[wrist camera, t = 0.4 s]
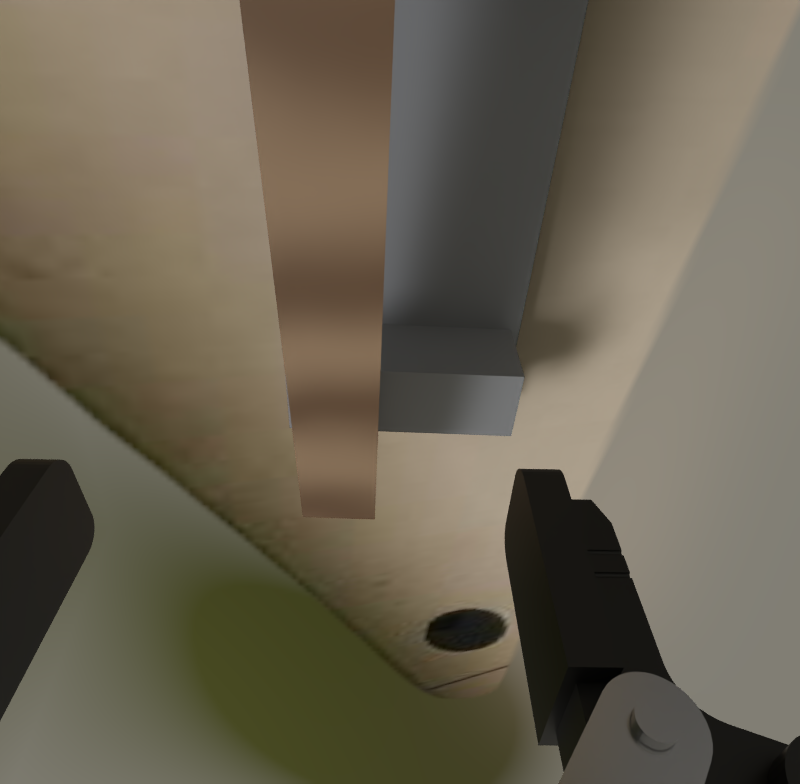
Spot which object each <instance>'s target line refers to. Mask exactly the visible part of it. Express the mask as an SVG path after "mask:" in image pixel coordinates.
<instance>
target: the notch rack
mask: <svg viewBox="0 0 800 784" xmlns="http://www.w3.org/2000/svg"><path fill="white" fill-rule="evenodd" d="M587 5H588V0H395V15H394V40H393V65H392V91H391V116H390V142H389V167H388V192H387V218H386V243H385V269H384V294H383V319H382V345H381V370H380V395H379V421H378V431H389V432H415V433H442V434H469V435H496V436H511V434H512V429H513V425H514V421H515V416H516V412H517V408H518V403H519V399H520V394H521V390H522V386H523V381H524V374H523V370H522V367H521V363H520V360H519V357H518V353H517V350H516V344H517V340H518V335H519V330H520V325H521V321H522V316H523V311H524V306H525V301H526V297H527V292H528V287H529V282H530V278H531V273H532V268H533V263H534V258H535V254H536V249H537V244H538V239H539V234H540V230H541V225H542V220H543V215H544V211H545V206H546V201H547V196H548V191H549V187H550V182H551V177H552V172H553V168H554V163H555V158H556V153H557V148H558V144H559V139H560V134H561V129H562V125H563V120H564V115H565V110H566V105H567V101H568V96H569V91H570V86H571V82H572V77H573V72H574V67H575V62H576V58H577V53H578V48H579V43H580V38H581V34H582V29H583V24H584V19H585V15H586V10H587ZM285 376H286V375H285ZM286 388H287V383H286ZM287 400H288V412H289V424H290V428H292V424H291V416H290V407H289V399H288V391H287Z"/></svg>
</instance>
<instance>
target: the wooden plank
mask: <svg viewBox="0 0 800 784" xmlns="http://www.w3.org/2000/svg"><path fill="white" fill-rule="evenodd" d="M240 7H241V15H242V24H243V32H244V40H245V48H246V56H247V64H248V73H249V81H250V89H251V97H252V105H253V113H254V122H255V130H256V138H257V146H258V154H259V162H260V171H261V179H262V187H263V195H264V203H265V211H266V220H267V228H268V236H269V244H270V252H271V260H272V269H273V277H274V285H275V293H276V301H277V309H278V318H279V326H280V334H281V342H282V350H283V358H284V367H285V375H286V383H287V391H288V399H289V407H290V416H291V424H292V432H293V440H294V448H295V456H296V465H297V473H298V481H299V489H300V497H301V505H302V514H303V517H318V518H350V519H375V496H376V471H377V446H378V421H379V395H380V370H381V345H382V319H383V294H384V269H385V243H386V218H387V192H388V167H389V142H390V116H391V91H392V65H393V40H394V15H395V0H240Z"/></svg>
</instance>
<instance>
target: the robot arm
mask: <svg viewBox="0 0 800 784" xmlns="http://www.w3.org/2000/svg"><path fill="white" fill-rule="evenodd" d="M93 537H94V519H93V516H92V514H91V511H90V509H89V507H88V504H87V502H86V500H85V498H84V495H83V493H82V491H81V489H80V486H79V484H78V482H77V479H76V477H75V475H74V473H73V470H72V468H71V466H70V465H69V464H68V463H67V462H66V461H64V460H43V459H41V460H40V459H18V460H15V461H13V462H12V463H10V464H9V465H8V467H7V468H6V469H5V470H4V471H3V473H2V474H1V475H0V720H1V718H2V716H3V714H4V712H5V711H6V708H7V707H8V705H9V703H10V701H11V699H12V697H13V695H14V693H15V692H16V690H17V688H18V686H19V684H20V682H21V680H22V678H23V676H24V674H25V673H26V670H27V669H28V667H29V665H30V663H31V661H32V659H33V657H34V655H35V653H36V652H37V650H38V648H39V646H40V644H41V642H42V640H43V638H44V636H45V634H46V632H47V631H48V629H49V627H50V625H51V623H52V621H53V619H54V617H55V615H56V614H57V612H58V610H59V607H60V606H61V604H62V602H63V600H64V598H65V596H66V594H67V593H68V591H69V589H70V587H71V585H72V583H73V581H74V579H75V577H76V575H77V574H78V572H79V570H80V568H81V566H82V564H83V562H84V560H85V558H86V556H87V554H88V552H89V550H90V548H91V545H92V542H93ZM505 553H506V561H507V567H508V572H509V578H510V584H511V590H512V595H513V601H514V607H515V613H516V618H517V624H518V630H519V636H520V642H521V647H522V653H523V659H524V665H525V670H526V676H527V682H528V687H529V693H530V699H531V705H532V711H533V717H534V722H535V728H536V734H537V739H538V745H558V746H559V751H560V756H561V761H562V766H563V771H564V773H563V775H562V777H561V779H560V781H559V783H558V784H800V736H798V737H797V738H795V739H794V740H793V741H792V742H791V743H790V744H789V745H787V744H784V743H781V742H778V741H776V740H772V739H770V738H767V737H764V736H761V735H758V734H755V733H752V732H749V731H746V730H744V729H741V728H737V727H735V726H732V725H729V724H727V723H724V722H722V721H719V720H717V719H715V718H714V717H712V716H710V715H708V714H707V713H705V712H704V711H702V710H701V709H699V708H698V707H697V706H696V704H695V703H694V702H693V700H692V699H691V698H690V697H689V696H688V695H687V694H686V693H685V692H683V691H682V690H681V689H680V688H679V687H677V686H676V685H675V683H674V682H673V681H672V679H671V678H670V676H669V674H668V672H667V670H666V668H665V666H664V664H663V661H662V658H661V656H660V653H659V650H658V647H657V645H656V642H655V639H654V637H653V634H652V631H651V629H650V626H649V623H648V620H647V618H646V615H645V613H644V610H643V607H642V604H641V601H640V599H639V596H638V593H637V591H636V588H635V585H634V583H633V580H632V578H630V576H629V574H630V572H629V569H628V566H627V564H626V561H625V558H624V556H623V555H622V554H621V548H620V545H619V542H618V539H617V537H616V534H615V532H614V529H613V526H612V523H611V522H610V521H609V520H608V519H607V517H606V516H605V515H604V514H603V513H602V512H601V511H600V509H599V508H598V507H597V506H596V505H595V504H594V503H593V502H592V500H572V499H571V497H570V493H569V490H568V487H567V484H566V480H565V477H564V475H563V473H562V471H561V470H555V469H518V470H517V472H516V475H515V480H514V485H513V490H512V495H511V500H510V505H509V510H508V515H507V520H506V526H505Z"/></svg>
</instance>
